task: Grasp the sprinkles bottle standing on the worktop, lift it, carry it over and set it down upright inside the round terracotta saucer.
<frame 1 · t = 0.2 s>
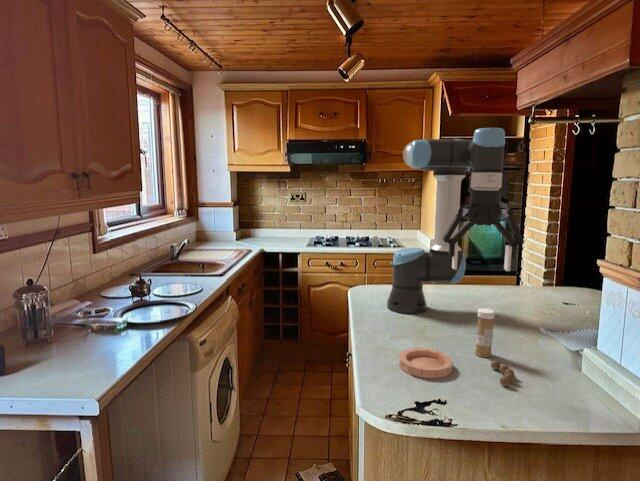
hand: (480, 269, 114), 27 cm above the countertop, fingers open, 13 cm apart
saucer: (425, 366, 116), on the countertop
bead string: (504, 375, 111), on the countertop
sprinkles bottle: (483, 355, 124), on the countertop
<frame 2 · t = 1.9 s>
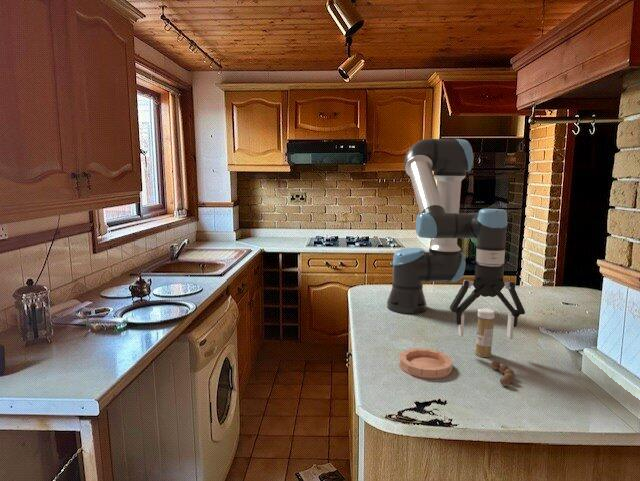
hand: (485, 336, 122), 6 cm above the countertop, fingers open, 13 cm apart
nothing on the countertop moved.
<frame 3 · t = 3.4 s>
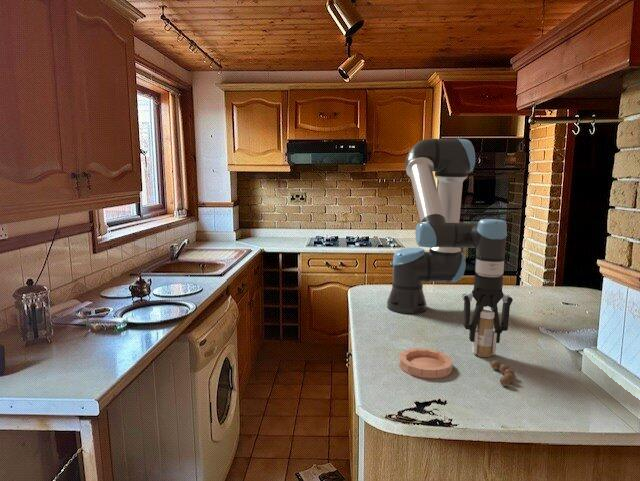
hand: (483, 352, 124), 1 cm above the countertop, fingers closed on sprinkles bottle, 4 cm apart
sprinkles bottle: (483, 355, 124), on the countertop, touching gripper
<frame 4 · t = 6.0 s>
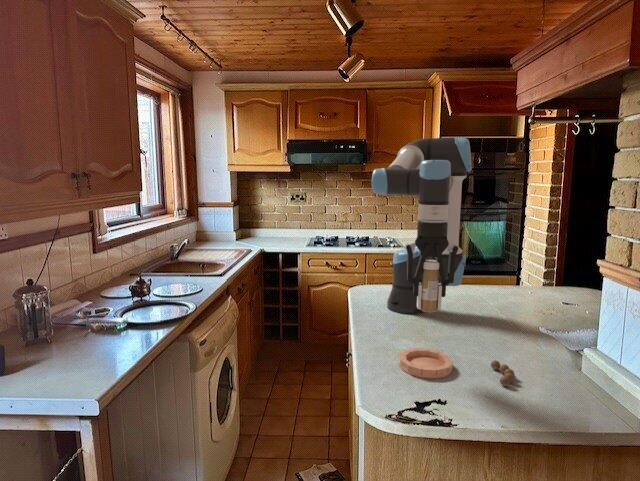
hand: (428, 307, 113), 17 cm above the countertop, fingers closed on sprinkles bottle, 4 cm apart
sprinkles bottle: (428, 311, 113), point 16 cm above the countertop, touching gripper
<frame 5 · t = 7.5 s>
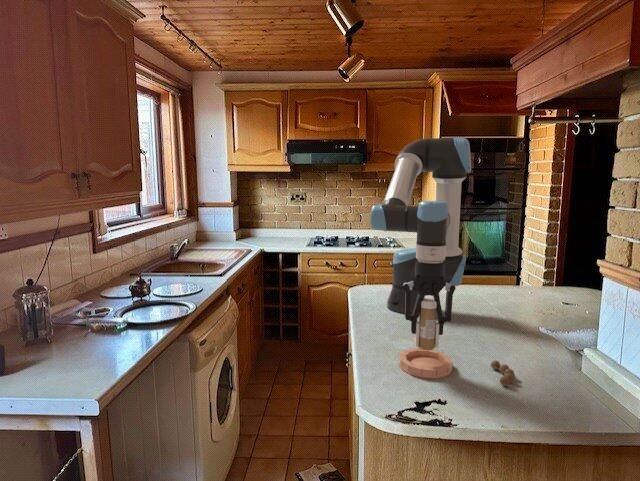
hand: (426, 345, 115), 6 cm above the countertop, fingers closed on sprinkles bottle, 4 cm apart
sprinkles bottle: (426, 348, 115), point 5 cm above the countertop, touching gripper
when the fingers open (3 cm above the countertop, at t = 8.7 s): sprinkles bottle drops 2 cm, resting on saucer.
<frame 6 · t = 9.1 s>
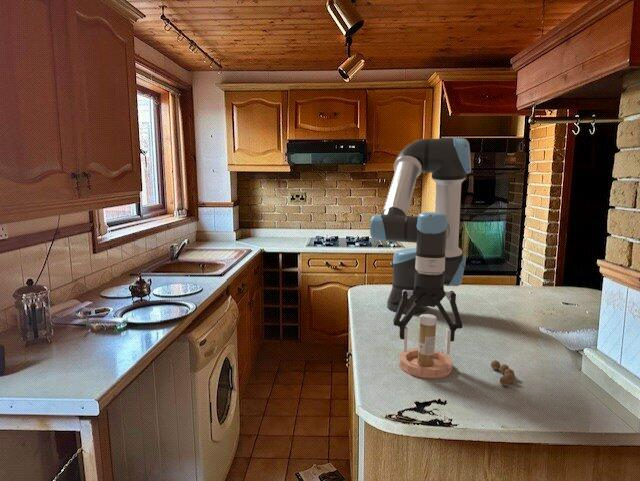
hand: (425, 351, 115), 4 cm above the countertop, fingers open, 10 cm apart
sprinkles bottle: (425, 364, 116), point 1 cm above the countertop, touching saucer
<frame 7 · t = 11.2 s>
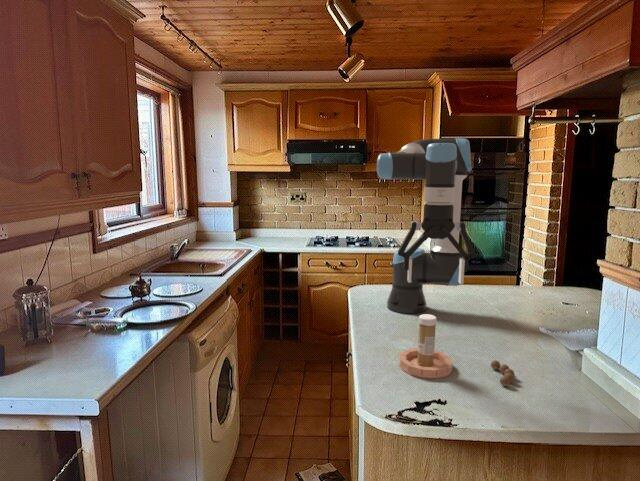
hand: (434, 282, 115), 23 cm above the countertop, fingers open, 13 cm apart
nothing on the countertop moved.
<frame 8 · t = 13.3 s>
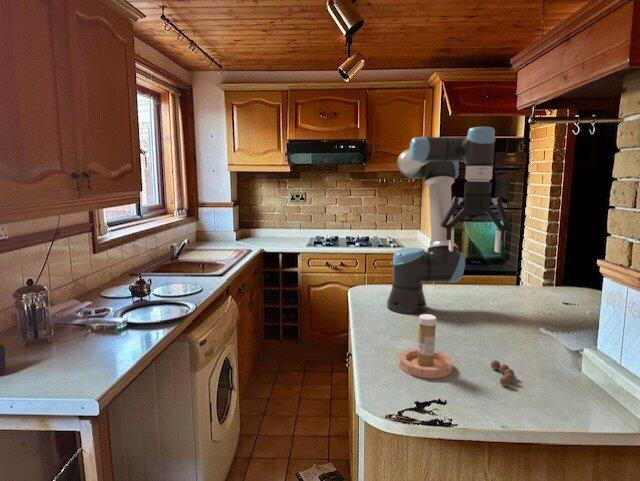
hand: (473, 251, 129), 29 cm above the countertop, fingers open, 13 cm apart
nothing on the countertop moved.
at the end: sprinkles bottle 0.1 cm from the saucer (horizontally); sprinkles bottle tilted 0°; sprinkles bottle point 0.6 cm above the countertop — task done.
